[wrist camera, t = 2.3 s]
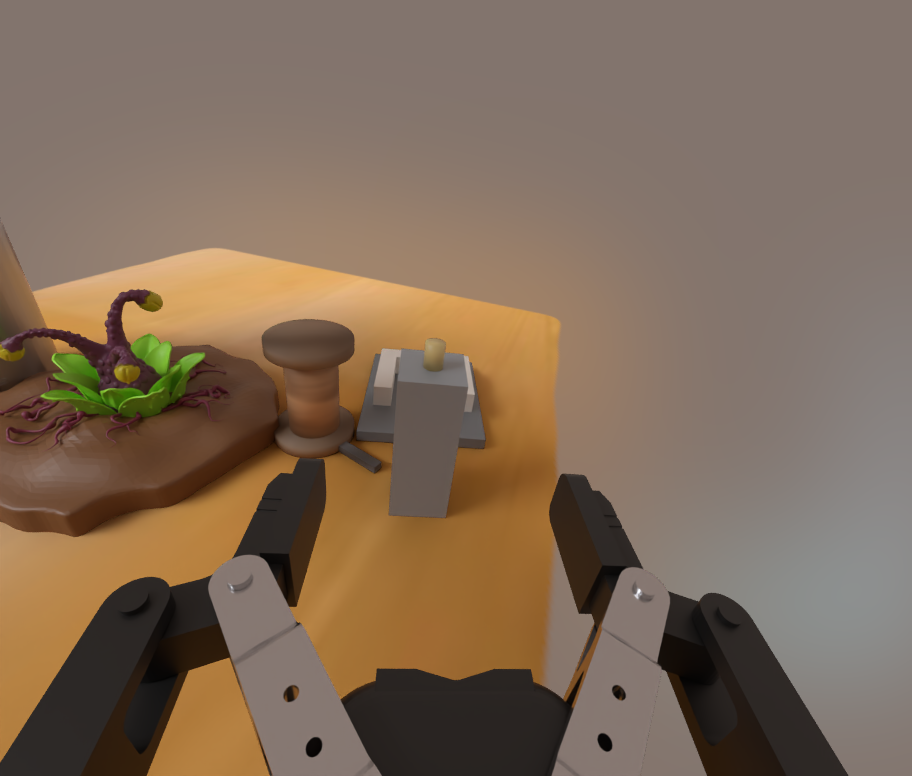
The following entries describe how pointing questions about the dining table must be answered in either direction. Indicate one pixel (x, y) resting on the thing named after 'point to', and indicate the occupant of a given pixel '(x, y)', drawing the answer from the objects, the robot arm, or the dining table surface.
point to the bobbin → (314, 389)
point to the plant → (124, 425)
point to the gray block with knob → (426, 429)
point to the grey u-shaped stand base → (382, 404)
